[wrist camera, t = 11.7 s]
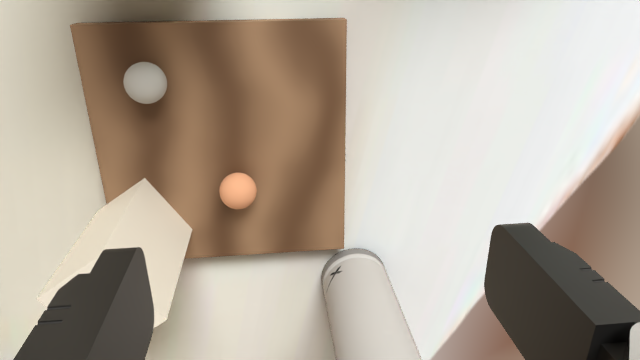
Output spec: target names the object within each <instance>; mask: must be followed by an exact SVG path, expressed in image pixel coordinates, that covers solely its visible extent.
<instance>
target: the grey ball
mask: <svg viewBox="0 0 640 360" xmlns="http://www.w3.org/2000/svg"><path fill="white" fill-rule="evenodd" d="M123 83H124V88H125V90H126V92H127V94H128V95H129V96H130V97H131V98H132V99H133V100H135V101H137V102H139V103H143V104H150V103H154V102H157V101H158V100H160V99H161V98H162V97H163V96H164V94H165V92H166V89H167V79H166V76H165V74H164V72H163V71H162V70H161V69H160V68H159V67H158V66H156V65H155V64H152V63H149V62H139V63H136V64H134V65H132V66H131V67H129V68H128V70H127V71H126V73H125V75H124V81H123Z"/></svg>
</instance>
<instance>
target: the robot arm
mask: <svg viewBox="0 0 640 360" xmlns="http://www.w3.org/2000/svg"><path fill="white" fill-rule="evenodd" d="M484 287H485V295H486V299H487V302H488V304H489V306H490V308H491V310H492V311H493V312H494V314H495V315H496V317H497V319H498V320H499V321H500V323H501V324H502V326H503V327H504V329H505V330H506V332H507V333H508V335H509V336H510V338H511V339H512V340H513V342H514V344H515V345H516V347H517V348H518V350H519V351H520V353H521V354H522V356H523V357H524V358H525V360H640V311H639V310H638V309H637V308H636V307H635V306H634V305H632V304H631V303H630V302H629V301H628V300H627V299H626V298H625V297H624V296H622V295H621V294H620V293H619V292H618V291H617V290H616V289H615V288H614V287H612V286H611V285H610V284H609V283H608V282H604V278H603V277H601V276H600V275H599V274H598V273H597V272H596V271H595V270H592V269H591V267H590V266H589V265H588V264H587V263H586V262H585V261H584V260H582V259H581V258H580V257H579V256H578V255H577V254H576V253H574V252H572V251H570V250H568V249H566V248H564V247H563V246H560V245H559V244H556V243H555V242H550V241H549V240H548V239H547V238H546V237H545V236H544V235H543V234H542V233H541V232H540V231H539V230H538V229H537V228H536V227H534V226H533V225H532V224H530V223H518V224H503V225H496V226H495V227H494V229H493V231H492V235H491V241H490V247H489V254H488V261H487V268H486V274H485V282H484ZM153 328H154V305H153V299H152V294H151V288H150V283H149V277H148V272H147V266H146V261H145V256H144V252H143V250H142V248H140V247H133V248H118V249H105V250H103V251H102V253H101V254H100V256H99V258H98V260H97V261H96V263H95V265H94V267H93V268H92V270H91V272H90V273H86V274H78V275H76V276H75V277H74V278H72V279H71V280H70V281H69V282H67V283H66V284H65V285H64V286H62V287H61V288H60V289H58V291H57V292H56V294H55V296H54V297H53V299H52V300H51V302H50V303H49V305H48V307H47V310H45V311H44V313H43V314H42V316H41V317H40V319H39V321H38V325H35V327H34V328H33V330H32V331H31V333H30V335H29V336H28V338H27V339H26V341H25V342H24V344H23V345H22V347H21V349H20V350H19V352H18V353H17V355H16V356H15V358H14V359H13V360H145V357H146V353H147V350H148V347H149V343H150V340H151V337H152V333H153Z"/></svg>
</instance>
